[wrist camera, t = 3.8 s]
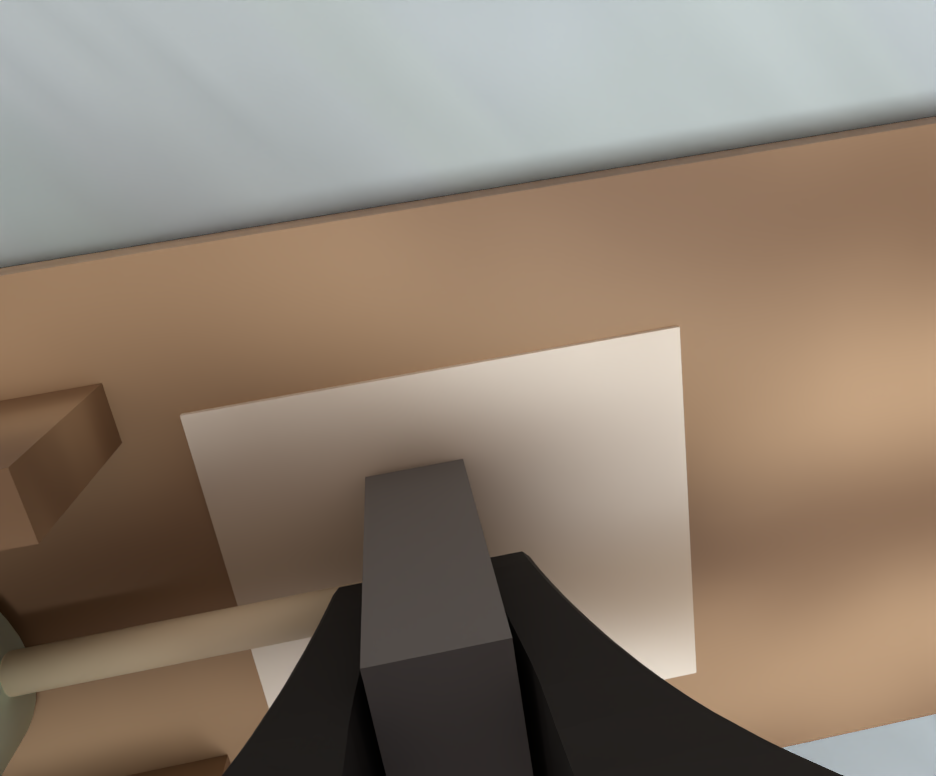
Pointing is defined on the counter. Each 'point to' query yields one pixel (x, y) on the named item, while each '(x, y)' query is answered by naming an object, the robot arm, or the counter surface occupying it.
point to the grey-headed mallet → (382, 637)
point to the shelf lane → (498, 433)
